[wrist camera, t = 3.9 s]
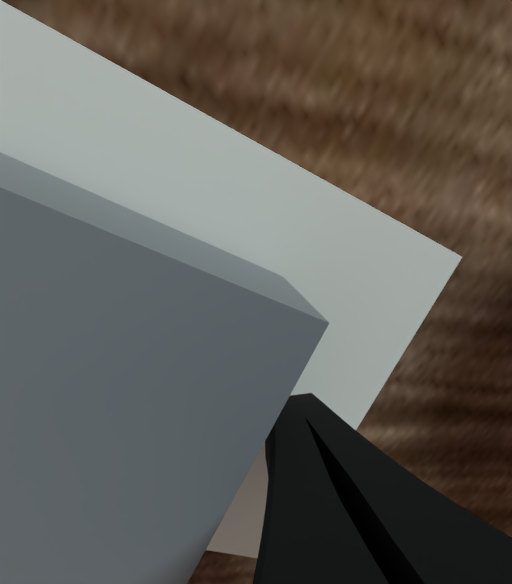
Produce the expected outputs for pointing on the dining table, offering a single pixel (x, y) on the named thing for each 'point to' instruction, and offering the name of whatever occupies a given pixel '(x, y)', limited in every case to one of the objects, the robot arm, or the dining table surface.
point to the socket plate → (225, 217)
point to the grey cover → (128, 384)
